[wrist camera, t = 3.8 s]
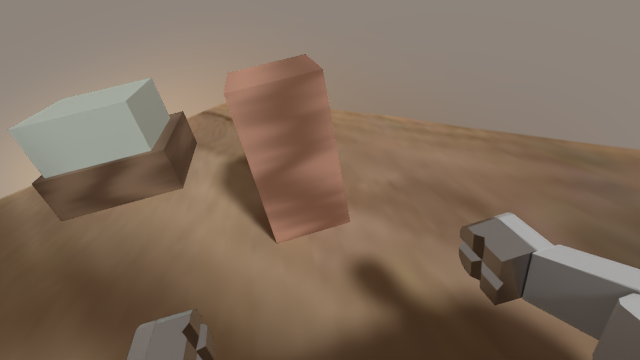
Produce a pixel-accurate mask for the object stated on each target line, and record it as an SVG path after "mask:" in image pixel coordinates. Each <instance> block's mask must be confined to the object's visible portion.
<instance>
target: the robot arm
mask: <svg viewBox="0 0 640 360" xmlns="http://www.w3.org/2000/svg"><path fill="white" fill-rule="evenodd" d="M460 238H461V239H462V240H463V242H462V244H461V245H460V246H459V257H460V260H461V263H462V265H463V267H464V269H465V270H466V272H467V273H468V274H469V275H470V276H471V277H473V278H475V279H478V280H480V289H481V290H482V291H483V292H484V293H485V295H486V296H487V297H488V298H489V299H490V300H491V302H492V303H493V304H494V305H498V304H502V303H505V302H508V301H512V300H515V299H518V298H522V299H523V300H525V301H527V302H529V303H531V304H532V305H534V306H536V307H538V308H540V309H542V310H543V311H545V312H547V313H549V314H551V315H553V316H555V317H556V318H558V319H560V320H562V321H564V322H566V323H568V324H569V325H571V326H573V327H575V328H577V329H579V330H581V331H582V332H584V333H586V334H588V335H590V336H592V337H594V338H595V339H597V340H599V342H598V344H597V346H596V348H595V350H594V352H593V360H640V269H637V268H634V267H630V266H627V265H624V264H621V263H617V262H614V261H611V260H608V259H605V258H601V257H598V256H595V255H592V254H588V253H585V252H582V251H579V250H575V249H572V248H569V247H566V246H562V245H556V246H554V245H553V244H551V243H550V242H549V241H547V240H546V239H545V238H544V237H542V236H541V235H540V234H538V233H537V232H536V231H535V230H533V229H532V228H531V227H530V226H528V225H527V224H526V223H524V222H523V221H522V220H521V219H519V218H518V217H517V216H515V215H514V214H512V213H509V212H507V213H504V214H501V215H497V216H494V217H492V218H487V219H484V220H481V221H478V222H475V223H472V224H469V225H466V226H462V228H461V229H460ZM201 317H202V316H201V315H200V313H199V312H198V310H197V309H193V310H189V311H186V312H182V313H179V314H175V315H171V316H168V317H164V318H161V319H158V320H155V321H151V322H148V323H144V324H140V326H139V327H138V328H137V329H136V331H135V335H134V338H133V341H132V344H131V347H130V350H129V353H128V356H127V359H126V360H213V359H214V341H213V336H212V333H211V331H210V329H209V327H208V326H207V325H205V324H202V323H201Z"/></svg>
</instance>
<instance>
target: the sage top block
mask: <svg viewBox="0 0 640 360" xmlns="http://www.w3.org/2000/svg"><path fill="white" fill-rule="evenodd" d="M169 119H170V116H169V114H168V112H167V110H166V108H165V106H164V103H163V101H162V99H161V97H160V95H159V93H158V90H157V88H156V86H155V84H154V82H153V80H152V78H148V79H144V80H140V81H136V82H132V83H127V84H123V85H119V86H115V87H111V88H106V89H103V90H98V91H94V92H90V93H85V94H81V95H77V96H73V97H69V98H65V99H62V100H60V101H58V102H56V103H55V104H53V105H51V106H49V107H47V108H46V109H44V110H42V111H40V112H38V113H37V114H35V115H33V116H31V117H30V118H28V119H26V120H24V121H23V122H21V123H19V124H17V125H15V126H14V127H12V128H10V129H8V131H9V133H10V134H11V135H12V136H13V138H14V139H15V140H16V142H17V143H18V144H19V146H20V147H21V148H22V150H23V151H24V152H25V154H26V155H27V156H28V157H29V159H30V160H31V161H32V163H33V164H34V165H35V167H36V168H37V169H38V171H39V172H40V173H41V174H42V176H43V177H44V178H48V177H52V176H56V175H60V174H64V173H68V172H71V171H75V170H79V169H83V168H87V167H91V166H94V165H98V164H102V163H106V162H110V161H114V160H118V159H121V158H125V157H129V156H133V155H137V154H141V153H144V152H148V151H151V150H152V149H153V147H154V145H155V144H156V142H157V140H158V138H159V137H160V135H161V133H162V131H163V130H164V128H165V126H166V125H167V123H168V121H169Z"/></svg>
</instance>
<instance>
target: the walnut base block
mask: <svg viewBox="0 0 640 360" xmlns="http://www.w3.org/2000/svg"><path fill="white" fill-rule="evenodd" d="M169 116H170V119H169V121H168V123H167V125H166V126H165V128H164V130H163V131H162V133H161V135H160V137H159V138H158V140H157V142H156V144H155V145H154V147H153V149H152V150H151V151H148V152H144V153H141V154H137V155H133V156H129V157H125V158H121V159H118V160H114V161H110V162H106V163H102V164H98V165H94V166H91V167H87V168H83V169H79V170H75V171H71V172H68V173H64V174H60V175H56V176H52V177H48V178H44V177H43V176H42V175H41V176H40V177H39V178H38V179H37V180H36V181H34V182H33V183H32V185H33V186H34V188H35V189H36V190H37V191H38V193H39V194H40V195H41V196H42V198H43V199H44V200H45V201H46V202H47V204H48V205H49V206H50V207H51V209H52V210H53V211H54V212H55V214H56V215H57V216H58V217H59V219H60V220H61V221H64V220H68V219H71V218H75V217H79V216H82V215H86V214H90V213H93V212H97V211H101V210H104V209H108V208H112V207H115V206H119V205H123V204H126V203H130V202H134V201H137V200H141V199H145V198H148V197H152V196H156V195H159V194H163V193H167V192H170V191H174V190H178V189H181V188H183V186H184V183H185V180H186V176H187V173H188V170H189V167H190V163H191V160H192V157H193V154H194V150H195V147H196V144H197V142H196V140H195V137H194V135H193V133H192V131H191V128H190V126H189V124H188V121H187V119H186V117H185V115H184V113H183V111H182V112H178V113H174V114H170V115H169Z"/></svg>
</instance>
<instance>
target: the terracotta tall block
mask: <svg viewBox="0 0 640 360" xmlns="http://www.w3.org/2000/svg"><path fill="white" fill-rule="evenodd" d="M224 95H225V98H226V101H227V104H228V107H229V110H230V112H231V115H232V118H233V121H234V124H235V127H236V129H237V132H238V135H239V138H240V141H241V143H242V146H243V149H244V152H245V155H246V158H247V160H248V163H249V166H250V169H251V172H252V175H253V177H254V180H255V183H256V186H257V189H258V191H259V194H260V197H261V200H262V203H263V206H264V208H265V211H266V214H267V217H268V220H269V223H270V225H271V228H272V231H273V234H274V237H275V239H276V242H277V243H280V242H284V241H287V240H291V239H294V238H297V237H301V236H304V235H307V234H311V233H314V232H318V231H321V230H324V229H328V228H331V227H335V226H338V225H341V224H345V223H348V222H350V219H349V213H348V207H347V202H346V196H345V191H344V185H343V180H342V174H341V168H340V163H339V157H338V152H337V146H336V141H335V135H334V130H333V124H332V118H331V113H330V107H329V102H328V96H327V91H326V86H325V80H324V74H323V69H322V68H321V67H320V66H319V65H317V64H316V63H315V62H314V61H313V60H311V59H310V58H309V57H308V56H307V55H306V54H304V55H300V56H296V57H292V58H287V59H284V60H279V61H275V62H271V63H267V64H263V65H259V66H255V67H251V68H247V69H242V70H239V71H235V72H230V73H227V79H226V84H225V90H224Z"/></svg>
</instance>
